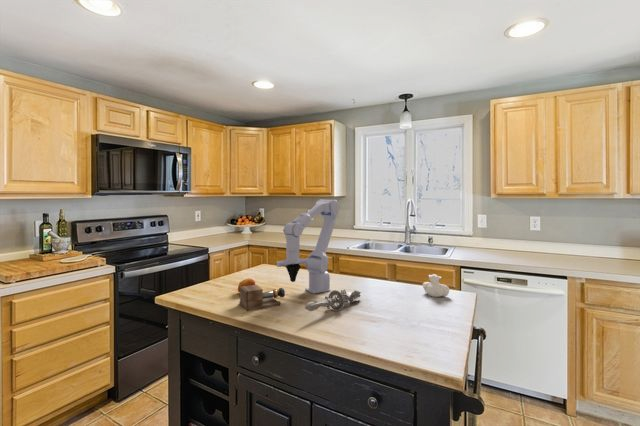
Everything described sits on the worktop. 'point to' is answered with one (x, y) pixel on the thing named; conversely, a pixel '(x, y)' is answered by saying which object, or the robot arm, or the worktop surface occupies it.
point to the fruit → (246, 283)
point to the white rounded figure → (435, 287)
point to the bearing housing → (255, 298)
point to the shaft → (274, 293)
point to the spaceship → (335, 300)
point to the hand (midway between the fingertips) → (292, 281)
